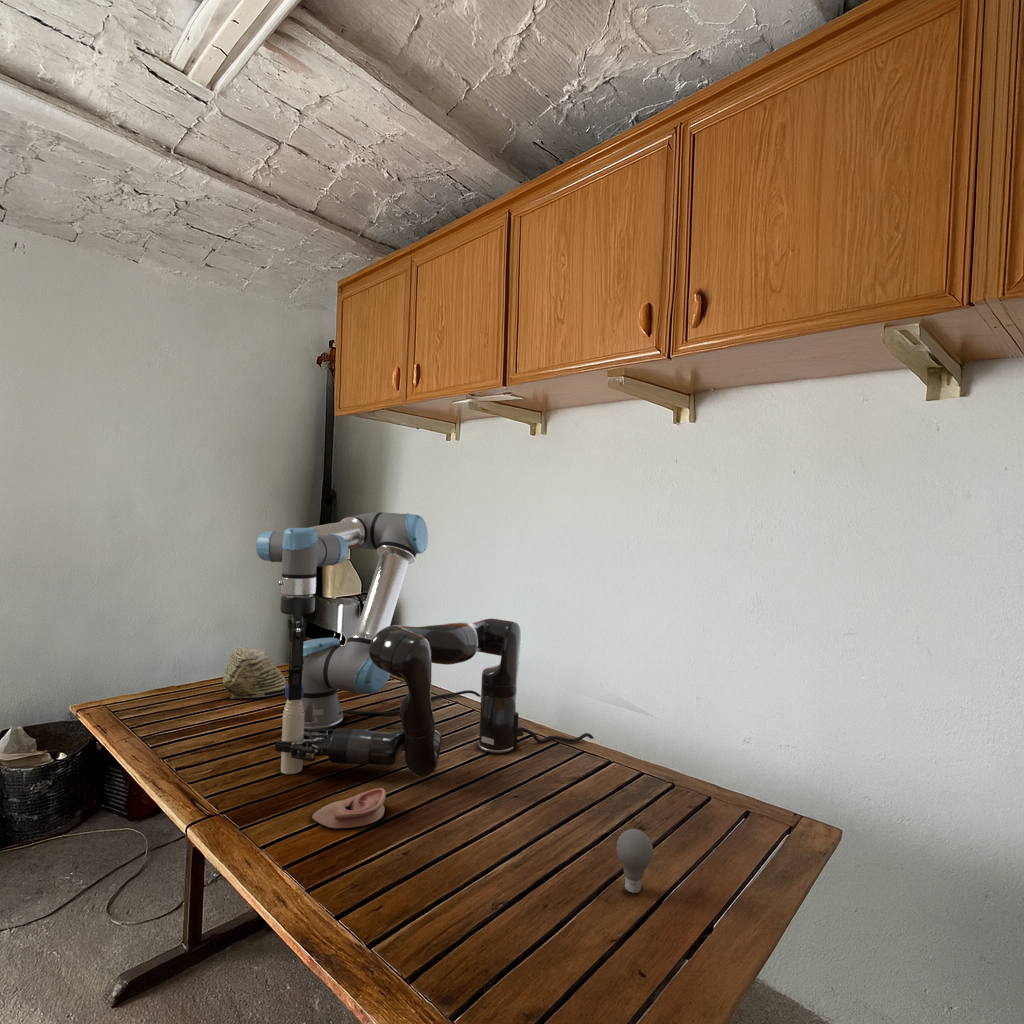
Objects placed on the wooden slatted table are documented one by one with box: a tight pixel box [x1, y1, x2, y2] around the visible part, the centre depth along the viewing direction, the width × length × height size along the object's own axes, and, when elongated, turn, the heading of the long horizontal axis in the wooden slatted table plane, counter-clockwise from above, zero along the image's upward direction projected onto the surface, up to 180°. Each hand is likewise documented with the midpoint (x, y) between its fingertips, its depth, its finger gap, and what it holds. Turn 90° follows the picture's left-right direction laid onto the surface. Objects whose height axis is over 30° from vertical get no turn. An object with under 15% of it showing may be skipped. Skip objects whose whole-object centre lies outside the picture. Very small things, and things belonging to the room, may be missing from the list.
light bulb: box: [615, 828, 654, 894], centre depth 106 cm, size 6×6×10 cm
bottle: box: [280, 699, 305, 775], centre depth 146 cm, size 5×5×19 cm
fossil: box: [222, 646, 287, 699], centre depth 198 cm, size 9×18×15 cm, turn 132°
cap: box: [284, 683, 304, 699], centre depth 146 cm, size 4×4×2 cm
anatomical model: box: [311, 787, 387, 829], centre depth 126 cm, size 13×4×12 cm
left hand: (294, 696), depth 146 cm, fingers closed on cap, 4 cm apart
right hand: (281, 741), depth 146 cm, fingers closed on bottle, 5 cm apart
